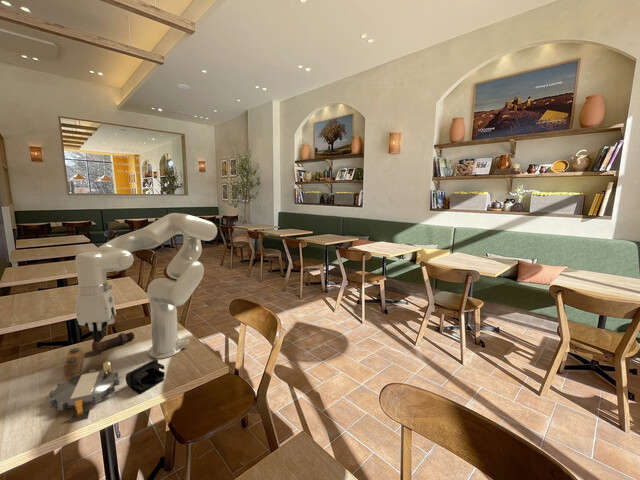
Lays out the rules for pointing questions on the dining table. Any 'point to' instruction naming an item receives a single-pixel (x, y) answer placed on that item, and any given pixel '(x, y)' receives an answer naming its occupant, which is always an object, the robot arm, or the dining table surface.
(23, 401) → the dining table surface
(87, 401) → the sprocket
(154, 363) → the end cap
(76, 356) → the tan block with disc
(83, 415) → the sprocket stand
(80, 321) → the robot arm
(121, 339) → the bolt
